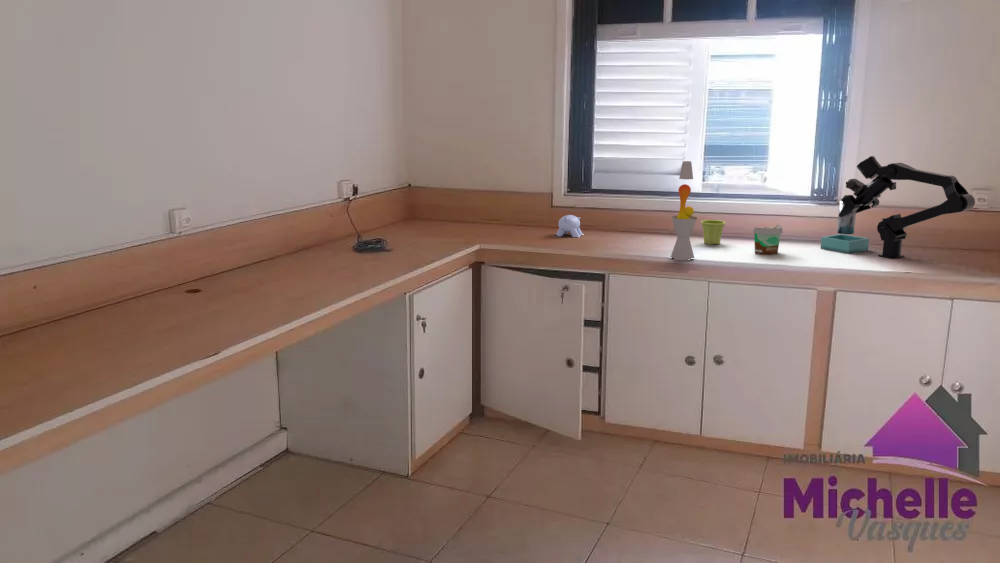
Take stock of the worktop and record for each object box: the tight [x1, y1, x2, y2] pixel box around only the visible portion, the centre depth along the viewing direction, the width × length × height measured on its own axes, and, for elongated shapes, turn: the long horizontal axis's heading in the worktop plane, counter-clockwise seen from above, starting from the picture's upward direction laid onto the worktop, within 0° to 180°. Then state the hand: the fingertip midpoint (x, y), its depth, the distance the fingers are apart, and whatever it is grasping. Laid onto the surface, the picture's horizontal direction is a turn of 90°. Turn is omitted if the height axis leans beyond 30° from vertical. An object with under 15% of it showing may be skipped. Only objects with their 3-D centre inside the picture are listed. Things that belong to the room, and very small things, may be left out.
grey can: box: [836, 200, 857, 235], centre depth 306 cm, size 6×6×12 cm
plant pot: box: [700, 219, 726, 245], centre depth 321 cm, size 9×9×9 cm
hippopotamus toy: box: [555, 214, 584, 238], centre depth 342 cm, size 11×15×10 cm
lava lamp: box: [670, 160, 698, 261], centre depth 290 cm, size 9×9×35 cm
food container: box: [752, 224, 784, 256], centre depth 300 cm, size 12×6×10 cm, turn 117°
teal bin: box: [820, 233, 870, 255], centre depth 308 cm, size 12×12×4 cm
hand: (843, 215), depth 306 cm, fingers closed on grey can, 6 cm apart
